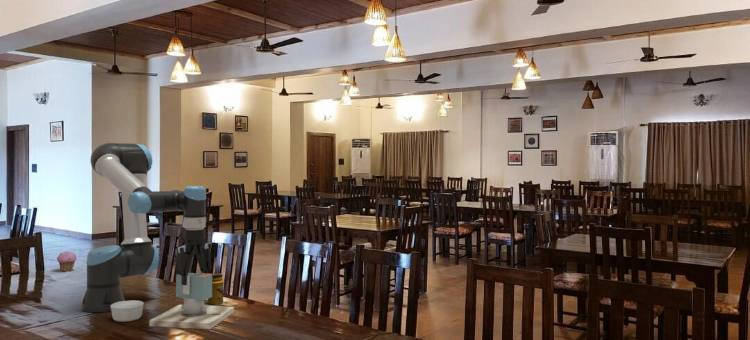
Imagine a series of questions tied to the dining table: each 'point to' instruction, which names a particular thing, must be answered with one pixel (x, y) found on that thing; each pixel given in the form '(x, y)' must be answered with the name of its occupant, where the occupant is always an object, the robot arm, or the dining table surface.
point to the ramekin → (127, 310)
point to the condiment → (216, 291)
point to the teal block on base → (195, 292)
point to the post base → (192, 318)
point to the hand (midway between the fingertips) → (194, 292)
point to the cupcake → (66, 261)
